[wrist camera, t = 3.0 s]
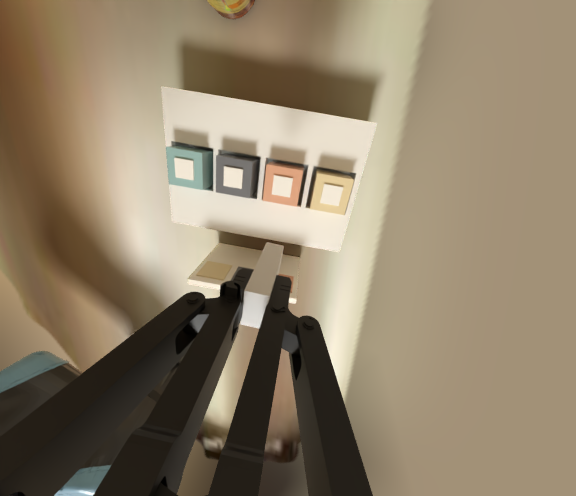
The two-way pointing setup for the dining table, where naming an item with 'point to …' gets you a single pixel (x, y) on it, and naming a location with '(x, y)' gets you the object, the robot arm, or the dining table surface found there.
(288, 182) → the key
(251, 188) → the key
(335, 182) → the key
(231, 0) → the sauce bottle
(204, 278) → the placard
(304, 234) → the keypad
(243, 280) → the robot arm
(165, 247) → the dining table surface
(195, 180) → the key
